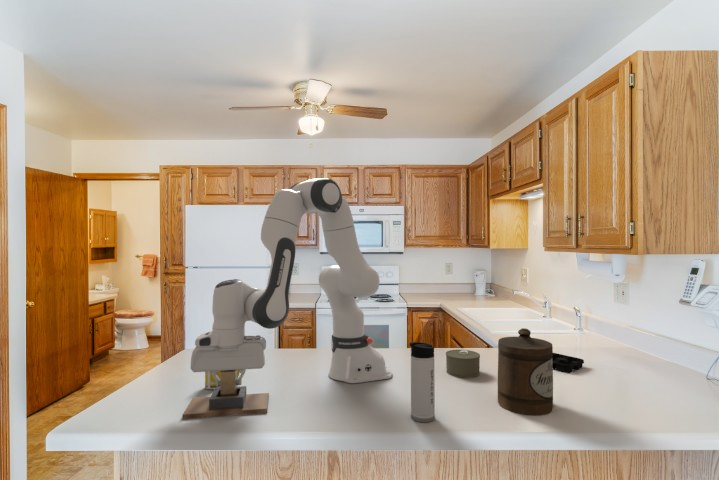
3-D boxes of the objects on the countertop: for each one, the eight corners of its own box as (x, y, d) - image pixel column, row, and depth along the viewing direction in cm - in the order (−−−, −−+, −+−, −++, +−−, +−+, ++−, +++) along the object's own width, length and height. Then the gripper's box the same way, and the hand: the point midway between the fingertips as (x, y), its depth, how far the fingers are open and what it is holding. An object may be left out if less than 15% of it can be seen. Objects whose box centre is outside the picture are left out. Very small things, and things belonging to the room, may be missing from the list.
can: (443, 375, 144) (442, 356, 144) (448, 366, 155) (448, 348, 155) (478, 380, 140) (478, 359, 140) (481, 370, 151) (481, 351, 151)
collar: (246, 396, 122) (246, 386, 122) (243, 408, 113) (243, 397, 113) (214, 398, 120) (214, 388, 120) (209, 410, 111) (209, 399, 112)
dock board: (268, 396, 125) (268, 392, 125) (267, 412, 113) (267, 408, 113) (192, 402, 121) (192, 397, 121) (182, 419, 109) (182, 414, 109)
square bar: (237, 394, 119) (236, 367, 119) (235, 399, 115) (235, 371, 115) (222, 395, 118) (222, 368, 118) (220, 401, 114) (220, 372, 115)
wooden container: (549, 420, 108) (548, 336, 108) (492, 408, 115) (491, 330, 116) (556, 401, 120) (555, 326, 120) (504, 392, 128) (503, 321, 128)
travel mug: (407, 413, 112) (407, 340, 112) (431, 412, 113) (430, 339, 113) (412, 423, 106) (412, 346, 106) (437, 422, 106) (437, 345, 107)
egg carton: (511, 351, 177) (511, 343, 177) (588, 365, 157) (588, 355, 157) (494, 360, 164) (494, 351, 164) (575, 376, 144) (575, 366, 144)
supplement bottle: (226, 385, 135) (226, 355, 135) (215, 391, 130) (215, 360, 130) (212, 383, 137) (212, 354, 137) (201, 389, 132) (201, 358, 132)
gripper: (266, 332, 122) (266, 379, 122) (194, 335, 118) (194, 383, 118) (265, 337, 116) (265, 386, 116) (189, 340, 112) (189, 391, 112)
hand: (228, 385), depth 117 cm, fingers closed on square bar, 4 cm apart
